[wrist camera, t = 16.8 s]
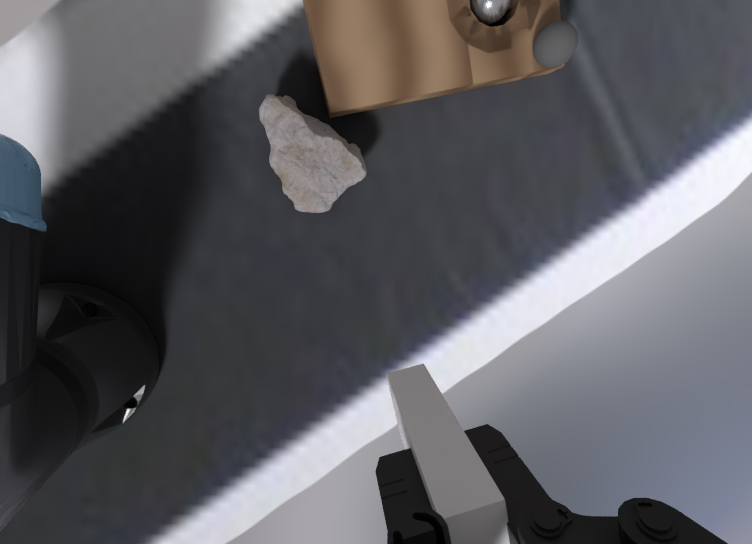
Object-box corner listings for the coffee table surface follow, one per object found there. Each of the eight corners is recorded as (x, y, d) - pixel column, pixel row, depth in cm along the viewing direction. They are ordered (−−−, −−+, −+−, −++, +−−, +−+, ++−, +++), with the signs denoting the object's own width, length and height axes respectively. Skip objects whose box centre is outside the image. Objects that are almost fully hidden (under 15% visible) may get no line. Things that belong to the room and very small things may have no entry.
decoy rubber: (527, 76, 34) (549, 64, 31) (522, 34, 33) (545, 16, 30) (562, 69, 34) (588, 56, 31) (558, 27, 34) (585, 9, 30)
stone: (235, 145, 34) (218, 136, 29) (298, 82, 34) (294, 61, 28) (312, 223, 37) (311, 229, 31) (371, 166, 36) (381, 161, 31)
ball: (470, 24, 33) (512, 9, 31) (463, -22, 32) (507, -40, 30) (475, 34, 36) (514, 20, 34) (469, -8, 35) (509, -23, 33)
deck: (329, 118, 35) (330, 113, 32) (292, -44, 32) (290, -63, 29) (548, 73, 37) (564, 65, 34) (534, -82, 34) (551, -103, 31)
